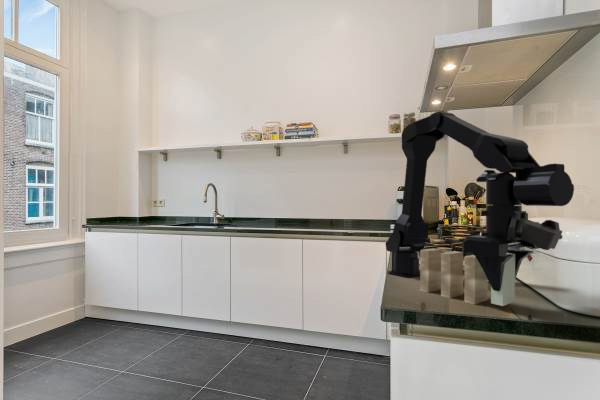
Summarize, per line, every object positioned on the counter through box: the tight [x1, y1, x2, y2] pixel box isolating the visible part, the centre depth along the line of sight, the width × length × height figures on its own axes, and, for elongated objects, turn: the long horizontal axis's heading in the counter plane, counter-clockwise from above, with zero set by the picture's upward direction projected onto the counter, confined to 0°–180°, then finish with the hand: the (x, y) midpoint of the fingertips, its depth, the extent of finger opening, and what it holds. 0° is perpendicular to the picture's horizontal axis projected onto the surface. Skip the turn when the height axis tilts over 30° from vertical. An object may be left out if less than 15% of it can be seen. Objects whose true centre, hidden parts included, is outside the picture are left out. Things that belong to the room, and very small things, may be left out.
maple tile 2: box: [440, 250, 464, 299], centre depth 70 cm, size 2×5×9 cm, turn 125°
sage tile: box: [490, 253, 516, 307], centre depth 62 cm, size 2×5×9 cm, turn 125°
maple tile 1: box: [419, 247, 442, 293], centre depth 74 cm, size 2×5×9 cm, turn 125°
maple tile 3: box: [463, 254, 488, 305], centre depth 66 cm, size 2×5×9 cm, turn 125°
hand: (503, 288), depth 62 cm, fingers closed on sage tile, 5 cm apart
